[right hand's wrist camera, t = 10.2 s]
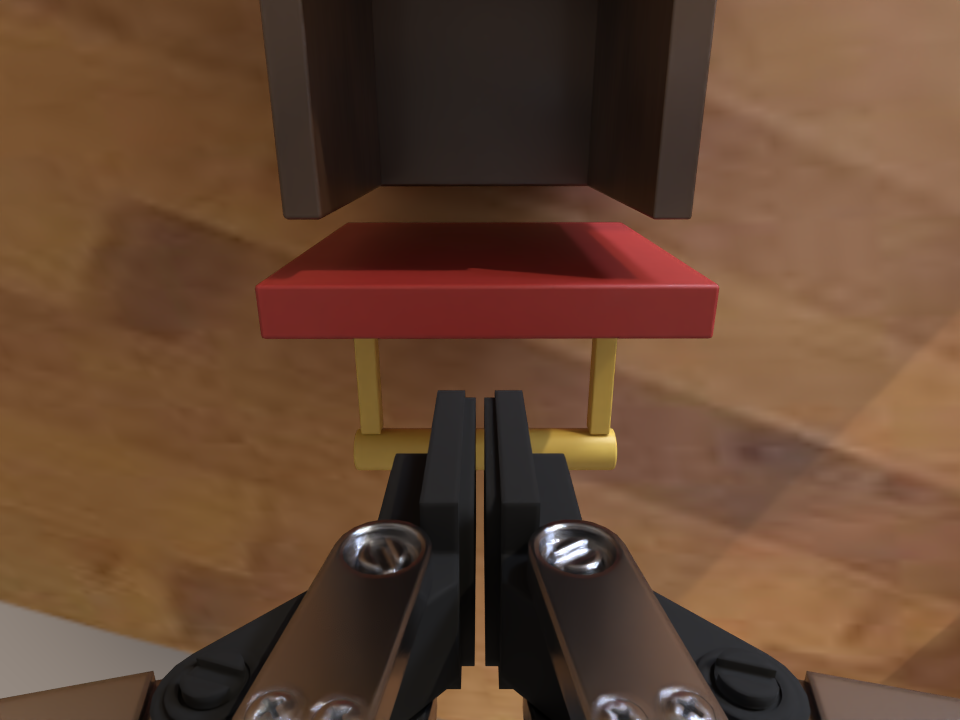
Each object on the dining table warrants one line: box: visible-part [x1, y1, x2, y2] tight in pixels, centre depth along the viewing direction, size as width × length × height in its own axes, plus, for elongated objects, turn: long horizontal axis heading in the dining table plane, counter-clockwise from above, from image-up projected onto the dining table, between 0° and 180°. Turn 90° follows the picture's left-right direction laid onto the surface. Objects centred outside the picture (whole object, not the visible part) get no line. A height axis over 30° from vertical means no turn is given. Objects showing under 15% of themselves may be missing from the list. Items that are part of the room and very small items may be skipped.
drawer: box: [255, 0, 719, 470], centre depth 15 cm, size 24×10×9 cm, turn 0°
